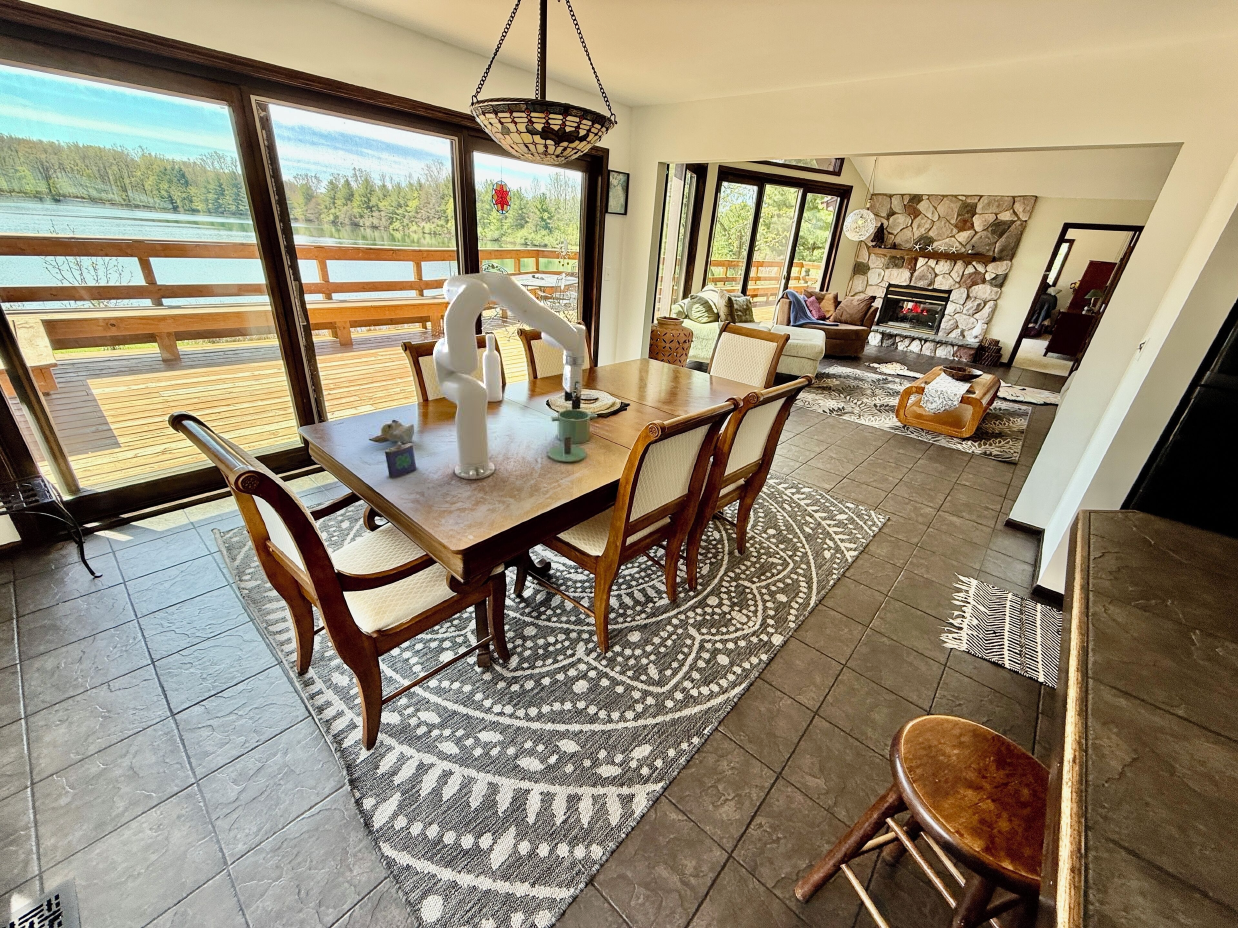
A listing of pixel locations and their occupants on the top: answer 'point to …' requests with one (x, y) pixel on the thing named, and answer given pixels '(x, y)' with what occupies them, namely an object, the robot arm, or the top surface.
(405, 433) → the ceramic sculpture
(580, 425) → the pot
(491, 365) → the bottle
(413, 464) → the flask
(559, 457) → the lid
